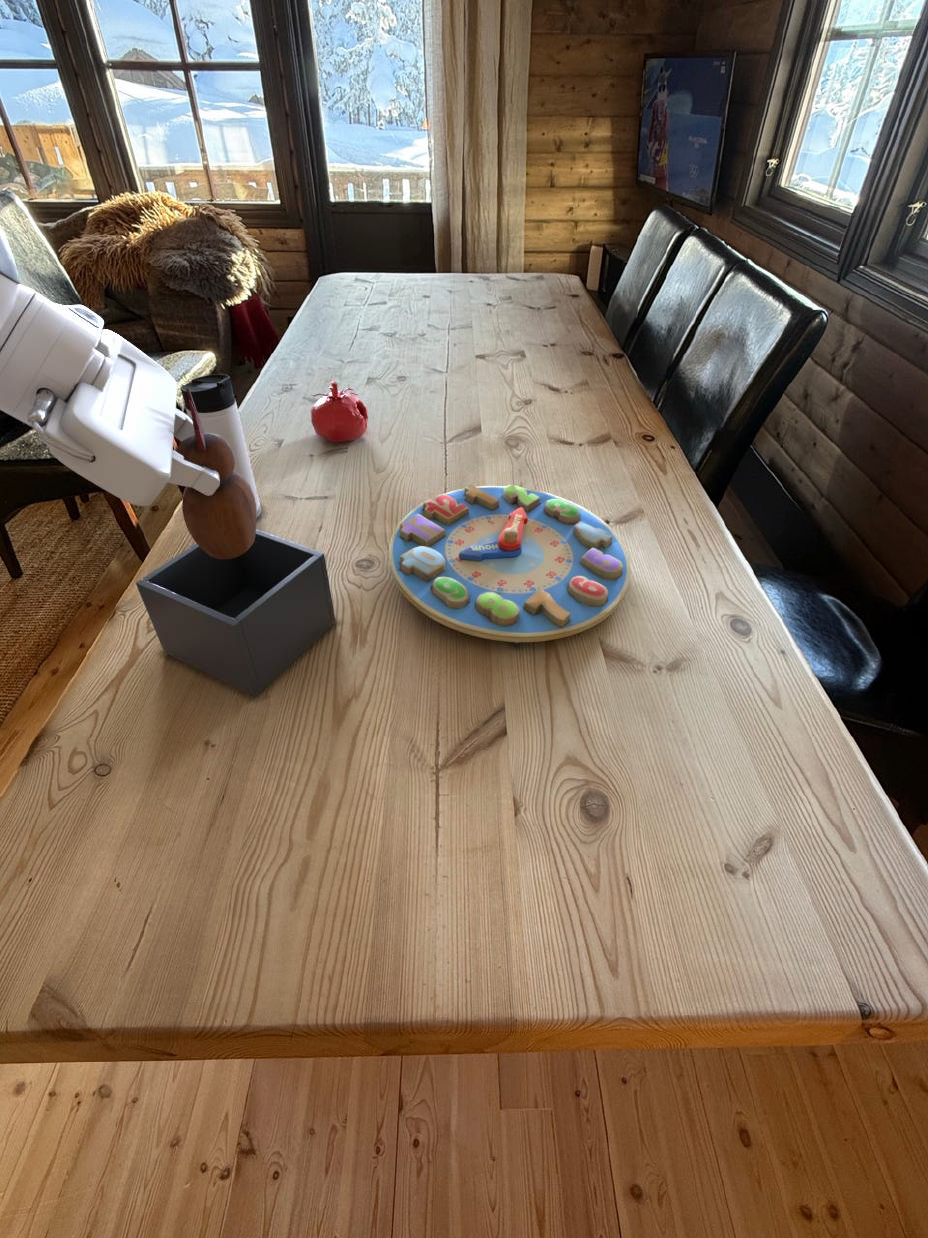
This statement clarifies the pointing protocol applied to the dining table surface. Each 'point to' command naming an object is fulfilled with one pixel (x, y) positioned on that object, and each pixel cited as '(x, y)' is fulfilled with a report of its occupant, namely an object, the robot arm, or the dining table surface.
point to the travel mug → (221, 419)
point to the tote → (241, 609)
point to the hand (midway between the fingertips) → (215, 468)
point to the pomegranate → (339, 416)
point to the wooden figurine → (217, 497)
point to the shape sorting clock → (509, 563)
